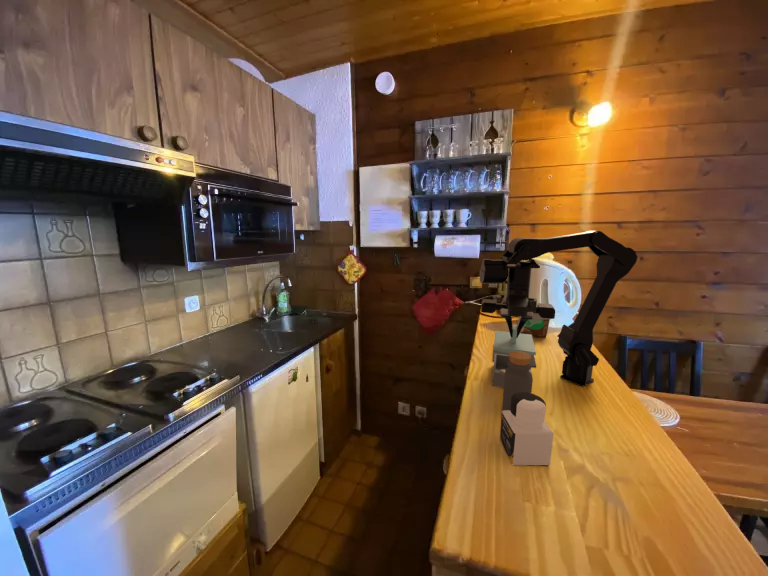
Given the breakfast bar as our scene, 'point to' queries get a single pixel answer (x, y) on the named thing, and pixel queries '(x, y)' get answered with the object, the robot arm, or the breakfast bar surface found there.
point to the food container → (537, 326)
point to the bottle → (516, 376)
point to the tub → (501, 370)
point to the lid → (514, 342)
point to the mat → (508, 354)
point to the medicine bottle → (526, 431)
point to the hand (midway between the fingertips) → (514, 337)
